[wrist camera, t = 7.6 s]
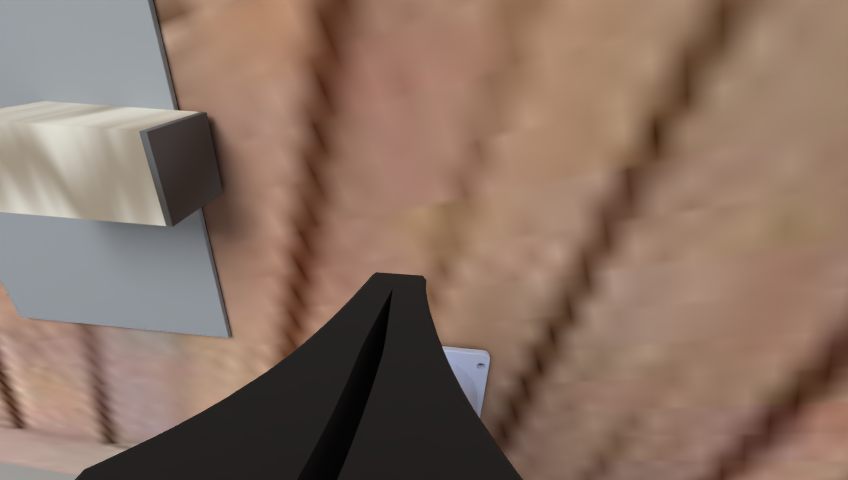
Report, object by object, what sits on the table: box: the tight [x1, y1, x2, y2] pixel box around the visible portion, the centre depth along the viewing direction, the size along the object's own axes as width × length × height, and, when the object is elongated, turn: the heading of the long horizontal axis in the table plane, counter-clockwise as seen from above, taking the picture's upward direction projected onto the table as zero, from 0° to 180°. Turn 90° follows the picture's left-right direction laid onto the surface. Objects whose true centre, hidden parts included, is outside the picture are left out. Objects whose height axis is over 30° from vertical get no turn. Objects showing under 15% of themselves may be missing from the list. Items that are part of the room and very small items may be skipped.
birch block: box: [0, 101, 223, 227], centre depth 18 cm, size 4×4×8 cm
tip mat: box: [0, 0, 231, 338], centre depth 20 cm, size 24×14×1 cm, turn 177°
